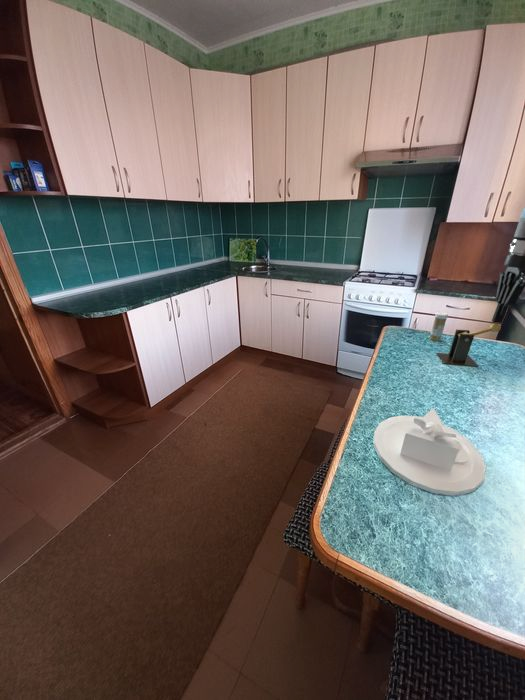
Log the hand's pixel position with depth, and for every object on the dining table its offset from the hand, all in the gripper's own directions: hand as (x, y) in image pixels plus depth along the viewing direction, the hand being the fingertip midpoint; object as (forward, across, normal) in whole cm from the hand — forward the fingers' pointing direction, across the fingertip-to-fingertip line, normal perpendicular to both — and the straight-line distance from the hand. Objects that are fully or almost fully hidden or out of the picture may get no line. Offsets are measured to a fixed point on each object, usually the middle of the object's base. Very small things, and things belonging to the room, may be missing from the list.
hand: (496, 322), depth 104 cm
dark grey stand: (+18, 0, -9) cm, 20 cm away
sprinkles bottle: (+18, -19, -11) cm, 28 cm away
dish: (+18, +52, -33) cm, 64 cm away
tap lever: (+6, 0, -4) cm, 7 cm away
